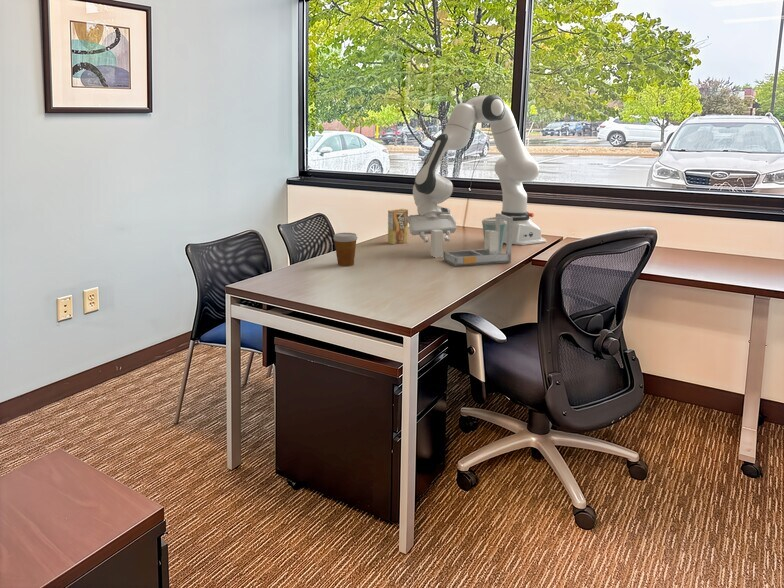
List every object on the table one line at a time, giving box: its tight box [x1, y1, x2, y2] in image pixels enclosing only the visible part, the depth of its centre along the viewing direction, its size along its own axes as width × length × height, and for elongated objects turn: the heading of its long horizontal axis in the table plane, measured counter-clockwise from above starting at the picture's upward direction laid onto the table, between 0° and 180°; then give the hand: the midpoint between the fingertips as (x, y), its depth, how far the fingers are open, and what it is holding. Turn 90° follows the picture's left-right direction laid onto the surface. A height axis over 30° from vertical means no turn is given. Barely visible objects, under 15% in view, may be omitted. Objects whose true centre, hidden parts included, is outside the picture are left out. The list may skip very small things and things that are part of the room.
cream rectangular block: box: [430, 230, 444, 259], centre depth 265 cm, size 4×5×11 cm
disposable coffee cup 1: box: [332, 232, 358, 267], centre depth 250 cm, size 10×10×12 cm
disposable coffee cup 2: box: [481, 216, 507, 254], centre depth 272 cm, size 11×11×15 cm
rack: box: [443, 213, 513, 267], centre depth 255 cm, size 24×12×18 cm, turn 107°
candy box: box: [387, 208, 409, 245], centre depth 294 cm, size 9×4×15 cm, turn 129°
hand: (437, 241), depth 264 cm, fingers open, 8 cm apart
